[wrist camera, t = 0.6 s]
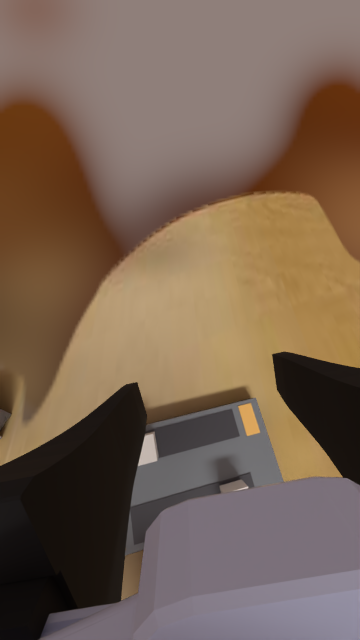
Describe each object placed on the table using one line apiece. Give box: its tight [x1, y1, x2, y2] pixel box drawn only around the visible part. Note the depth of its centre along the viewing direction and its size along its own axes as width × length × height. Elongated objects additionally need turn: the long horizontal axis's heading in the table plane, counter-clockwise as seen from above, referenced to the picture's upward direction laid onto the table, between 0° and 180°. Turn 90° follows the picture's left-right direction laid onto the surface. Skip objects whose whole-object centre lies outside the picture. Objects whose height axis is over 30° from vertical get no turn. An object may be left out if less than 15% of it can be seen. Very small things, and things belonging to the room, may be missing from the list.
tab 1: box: [138, 431, 158, 466], centre depth 27 cm, size 3×3×3 cm
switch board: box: [125, 398, 284, 555], centre depth 29 cm, size 13×24×2 cm, turn 103°
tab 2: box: [220, 480, 248, 493], centre depth 26 cm, size 3×3×3 cm
